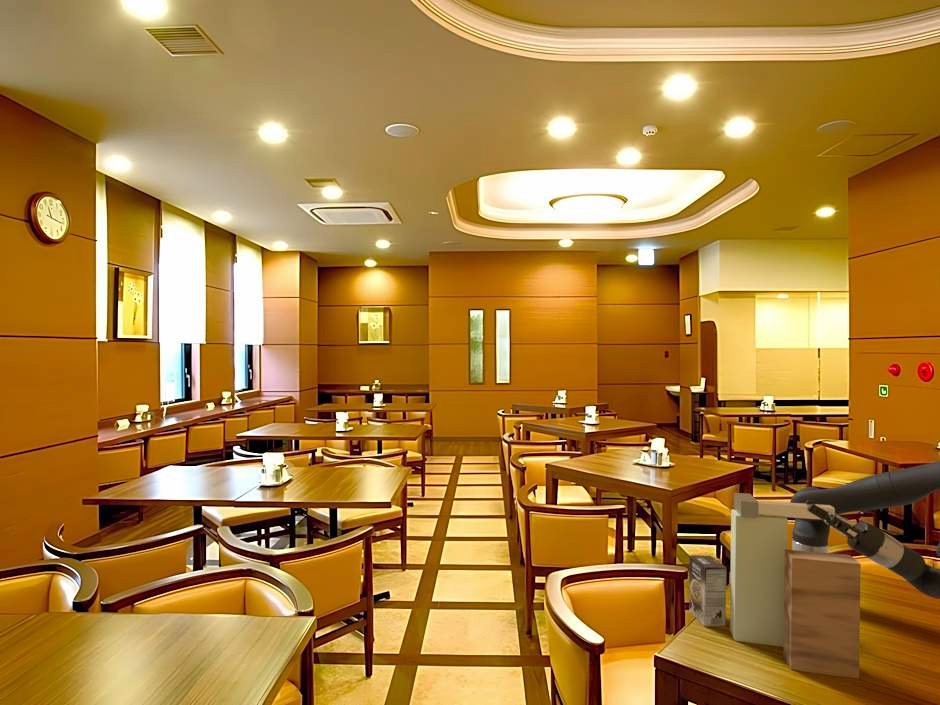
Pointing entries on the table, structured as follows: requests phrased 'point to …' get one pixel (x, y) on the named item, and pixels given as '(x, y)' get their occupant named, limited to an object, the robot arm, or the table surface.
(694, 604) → the coffee box
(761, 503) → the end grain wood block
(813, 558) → the wood grain post
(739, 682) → the table surface
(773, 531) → the beige tall block
